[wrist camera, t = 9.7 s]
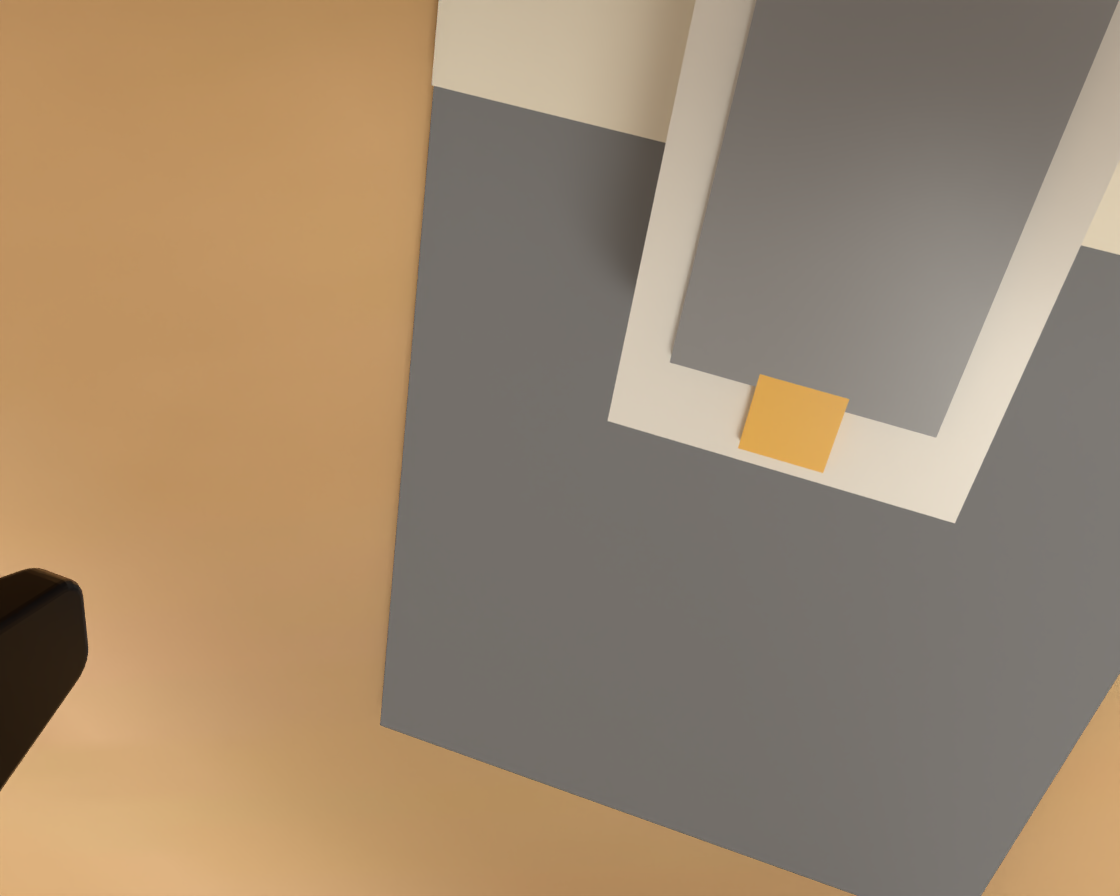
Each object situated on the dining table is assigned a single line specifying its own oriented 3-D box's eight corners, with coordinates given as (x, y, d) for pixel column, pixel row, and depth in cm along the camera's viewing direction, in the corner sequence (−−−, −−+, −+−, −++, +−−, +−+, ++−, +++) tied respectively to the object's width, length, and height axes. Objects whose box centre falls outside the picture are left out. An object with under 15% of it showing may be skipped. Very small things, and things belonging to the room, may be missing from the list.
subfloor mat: (1969, -737, 10) (2022, -765, 9) (958, 912, 24) (958, 935, 24) (529, -862, 12) (512, -890, 12) (389, 710, 26) (378, 728, 26)
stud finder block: (1224, -242, 13) (1313, -255, 10) (952, 405, 18) (954, 531, 14) (805, -314, 13) (764, -346, 10) (659, 323, 18) (603, 427, 15)
